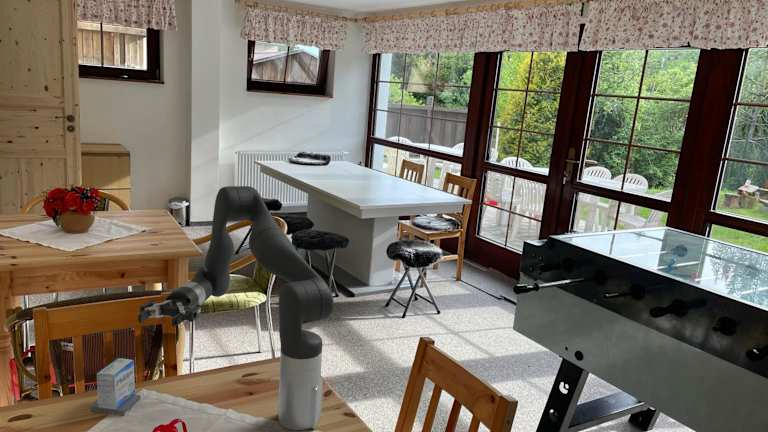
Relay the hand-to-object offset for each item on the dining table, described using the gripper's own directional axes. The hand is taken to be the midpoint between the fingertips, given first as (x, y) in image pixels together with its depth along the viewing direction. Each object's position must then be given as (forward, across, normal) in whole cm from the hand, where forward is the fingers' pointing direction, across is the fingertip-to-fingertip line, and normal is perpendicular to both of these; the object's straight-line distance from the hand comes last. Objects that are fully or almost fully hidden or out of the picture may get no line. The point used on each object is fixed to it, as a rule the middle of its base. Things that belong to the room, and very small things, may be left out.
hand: (156, 321), depth 145 cm
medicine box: (+12, -4, +15) cm, 20 cm away
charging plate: (+12, -4, +16) cm, 21 cm away
